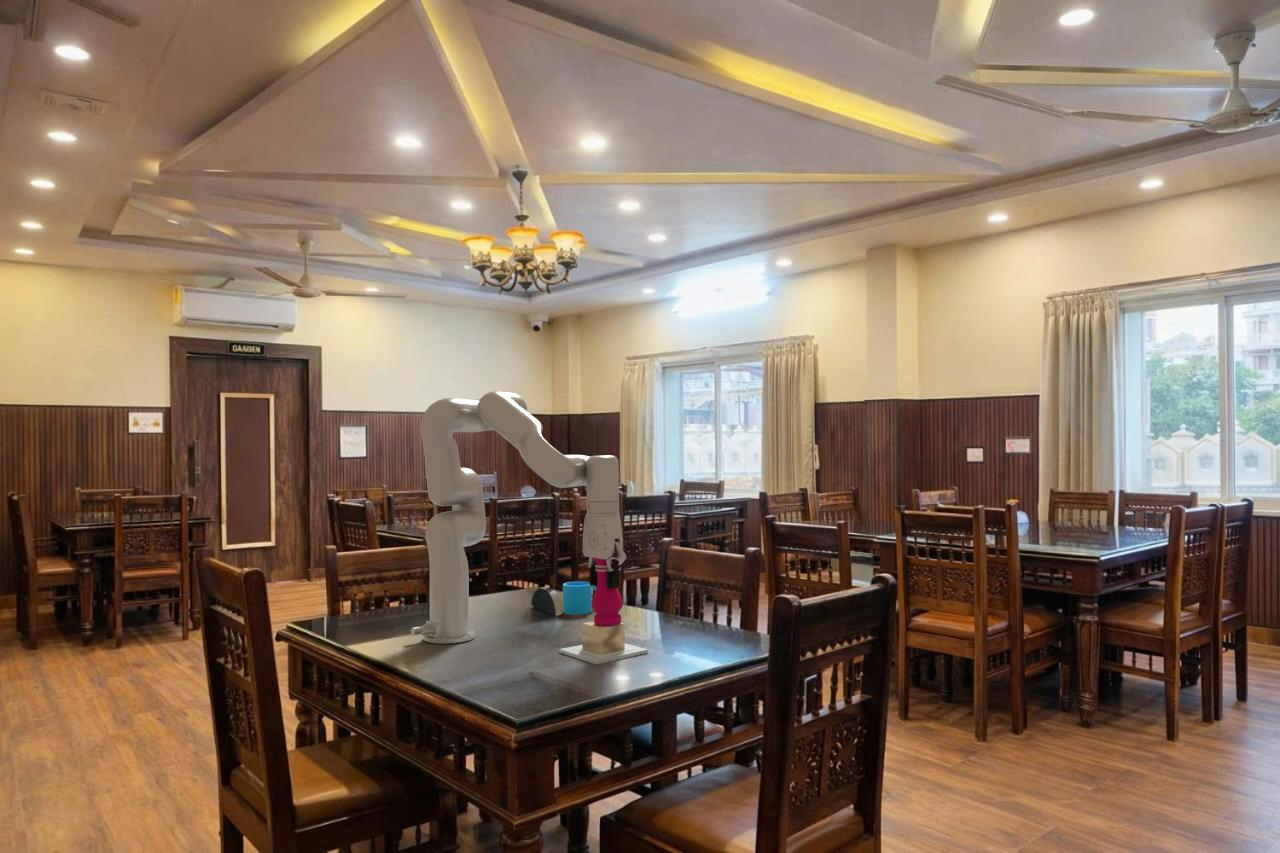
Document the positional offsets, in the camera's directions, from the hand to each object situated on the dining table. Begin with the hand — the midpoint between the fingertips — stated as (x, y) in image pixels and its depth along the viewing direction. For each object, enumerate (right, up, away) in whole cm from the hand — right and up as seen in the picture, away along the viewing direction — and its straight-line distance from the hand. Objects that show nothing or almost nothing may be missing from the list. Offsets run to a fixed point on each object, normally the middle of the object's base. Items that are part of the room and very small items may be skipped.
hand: (604, 585), depth 196 cm
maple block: (0, -15, 0) cm, 15 cm away
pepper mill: (+1, -9, -1) cm, 9 cm away
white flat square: (0, -16, 0) cm, 16 cm away
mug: (-8, -17, +48) cm, 52 cm away
